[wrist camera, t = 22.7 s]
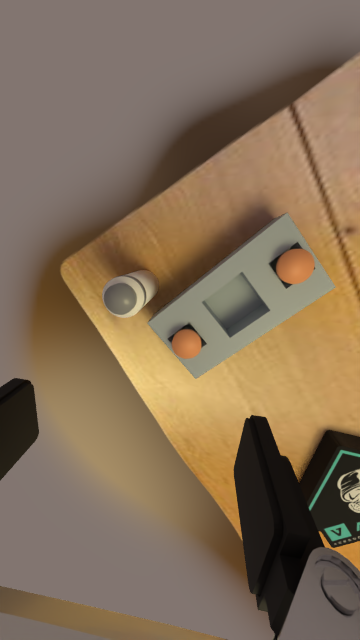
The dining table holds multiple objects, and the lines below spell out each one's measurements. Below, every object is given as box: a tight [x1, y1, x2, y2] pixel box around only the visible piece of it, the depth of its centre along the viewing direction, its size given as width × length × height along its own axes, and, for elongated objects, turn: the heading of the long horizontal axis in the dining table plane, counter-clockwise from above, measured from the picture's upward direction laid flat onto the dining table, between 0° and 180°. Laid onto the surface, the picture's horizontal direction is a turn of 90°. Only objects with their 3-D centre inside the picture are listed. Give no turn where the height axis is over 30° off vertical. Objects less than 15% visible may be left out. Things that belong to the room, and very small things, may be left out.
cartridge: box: [102, 270, 159, 318], centre depth 32 cm, size 5×5×12 cm
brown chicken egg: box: [272, 249, 315, 284], centre depth 31 cm, size 4×4×5 cm
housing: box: [148, 213, 335, 379], centre depth 34 cm, size 24×12×5 cm, turn 129°
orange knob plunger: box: [172, 325, 201, 359], centre depth 35 cm, size 4×4×5 cm
